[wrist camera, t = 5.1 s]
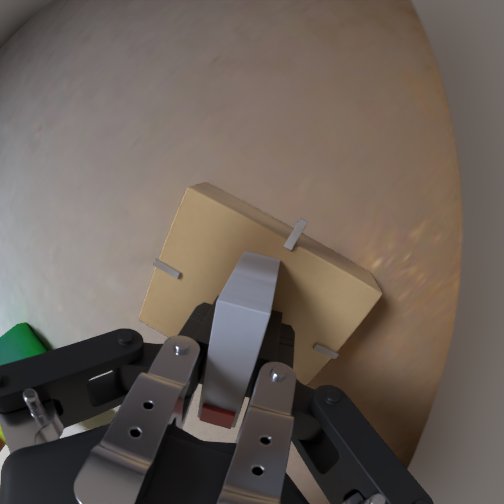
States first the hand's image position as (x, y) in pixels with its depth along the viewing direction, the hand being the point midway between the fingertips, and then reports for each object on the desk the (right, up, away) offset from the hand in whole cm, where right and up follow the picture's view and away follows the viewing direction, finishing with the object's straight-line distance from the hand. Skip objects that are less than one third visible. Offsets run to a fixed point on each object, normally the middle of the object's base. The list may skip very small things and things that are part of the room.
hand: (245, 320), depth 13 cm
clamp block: (+1, +1, +3) cm, 3 cm away
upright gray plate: (0, 0, 0) cm, 0 cm away
